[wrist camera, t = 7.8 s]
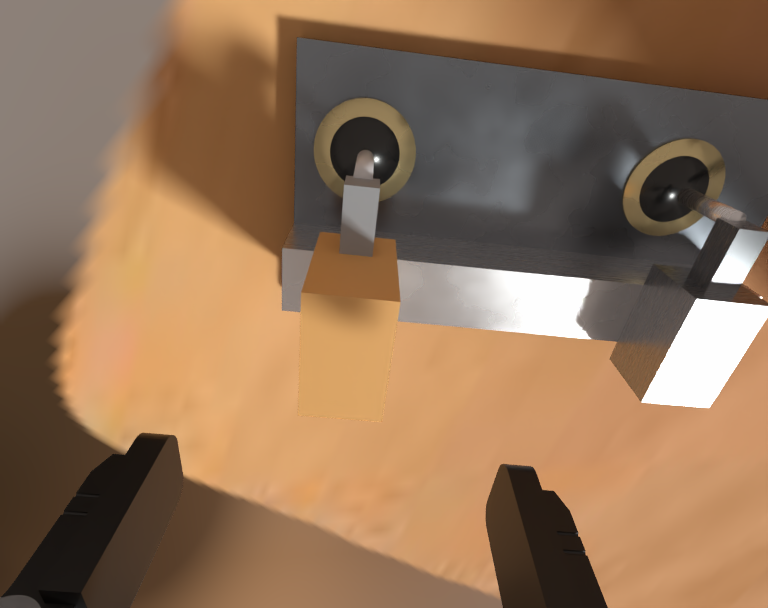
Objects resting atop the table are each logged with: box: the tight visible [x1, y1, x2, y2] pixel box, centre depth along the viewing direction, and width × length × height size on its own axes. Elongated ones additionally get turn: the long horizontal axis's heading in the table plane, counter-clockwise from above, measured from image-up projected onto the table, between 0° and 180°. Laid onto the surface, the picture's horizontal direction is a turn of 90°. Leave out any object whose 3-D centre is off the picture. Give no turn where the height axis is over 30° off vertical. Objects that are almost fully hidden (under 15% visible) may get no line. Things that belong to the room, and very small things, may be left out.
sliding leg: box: [298, 150, 401, 422], centre depth 17 cm, size 3×8×7 cm, turn 173°
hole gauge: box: [282, 37, 768, 408], centre depth 19 cm, size 22×12×7 cm, turn 83°
